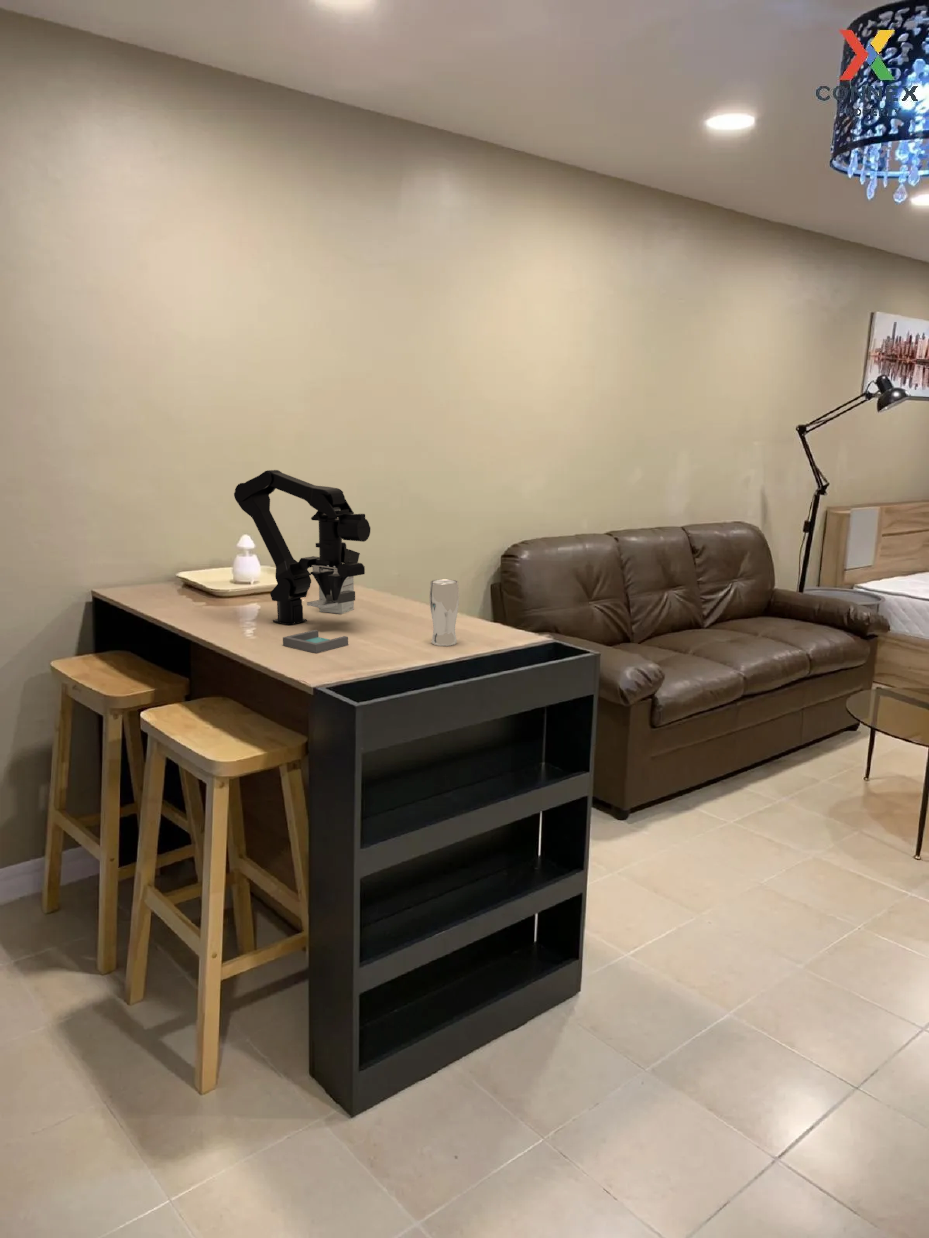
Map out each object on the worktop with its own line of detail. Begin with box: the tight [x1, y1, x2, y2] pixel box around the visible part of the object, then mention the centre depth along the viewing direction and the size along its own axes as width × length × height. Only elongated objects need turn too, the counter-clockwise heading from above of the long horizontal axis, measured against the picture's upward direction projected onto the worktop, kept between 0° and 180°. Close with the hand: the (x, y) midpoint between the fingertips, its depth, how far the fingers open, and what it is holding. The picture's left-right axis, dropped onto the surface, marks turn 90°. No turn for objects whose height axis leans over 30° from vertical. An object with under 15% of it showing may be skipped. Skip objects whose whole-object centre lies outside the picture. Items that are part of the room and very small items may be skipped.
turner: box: [306, 590, 356, 609], centre depth 230 cm, size 13×6×2 cm, turn 142°
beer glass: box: [429, 578, 460, 647], centre depth 214 cm, size 7×7×15 cm
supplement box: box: [318, 566, 355, 615], centre depth 250 cm, size 7×7×13 cm
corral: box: [282, 629, 349, 654], centre depth 212 cm, size 11×10×2 cm
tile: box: [305, 636, 331, 643], centre depth 213 cm, size 5×5×2 cm
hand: (331, 599), depth 229 cm, fingers closed on turner, 2 cm apart
